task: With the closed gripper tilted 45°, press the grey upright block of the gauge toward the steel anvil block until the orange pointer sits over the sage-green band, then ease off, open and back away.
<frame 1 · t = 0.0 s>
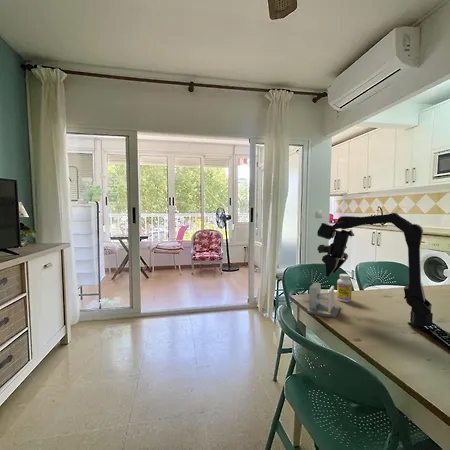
hand: (330, 274, 125), 15 cm above the table, tool pointing down, fingers open, 9 cm apart
supplement bottle: (344, 300, 135), on the table
anvil block: (315, 295, 123), on the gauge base, point 6 cm above the table
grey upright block: (323, 297, 120), point 6 cm above the table, slide at 0.0 cm
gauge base: (323, 310, 121), on the table
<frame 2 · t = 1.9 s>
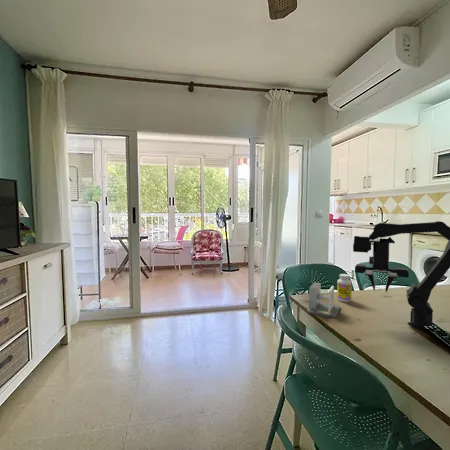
hand: (380, 291, 110), 12 cm above the table, tool pointing down, fingers open, 4 cm apart
nothing on the table moved.
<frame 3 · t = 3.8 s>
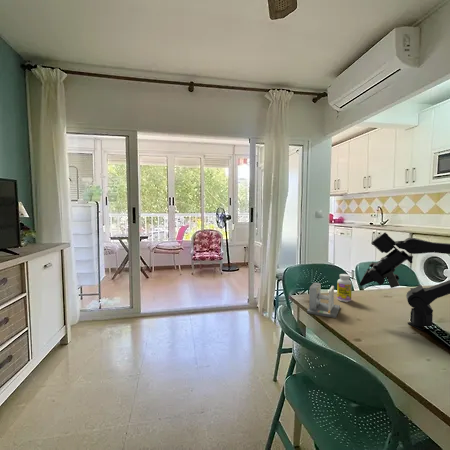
hand: (360, 285, 113), 14 cm above the table, tool tilted 45°, fingers closed
nothing on the table moved.
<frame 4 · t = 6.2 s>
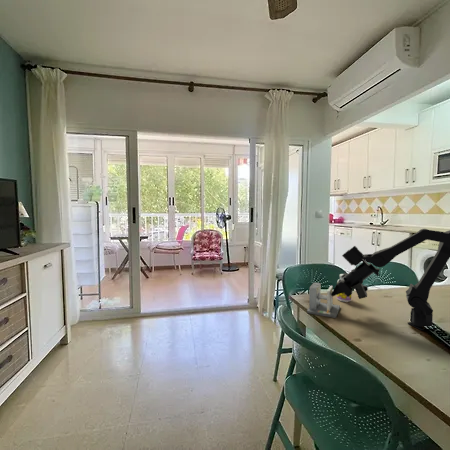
hand: (331, 295, 119), 7 cm above the table, tool tilted 45°, fingers closed, pressing on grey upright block
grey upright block: (321, 297, 120), point 6 cm above the table, slide at 0.5 cm, touching gripper
everything else where it was.
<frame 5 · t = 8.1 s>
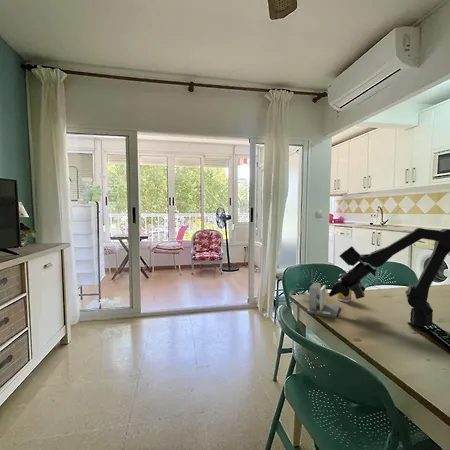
hand: (329, 295, 120), 7 cm above the table, tool tilted 45°, fingers closed
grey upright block: (314, 296, 122), point 6 cm above the table, slide at 3.6 cm
everything else where it was.
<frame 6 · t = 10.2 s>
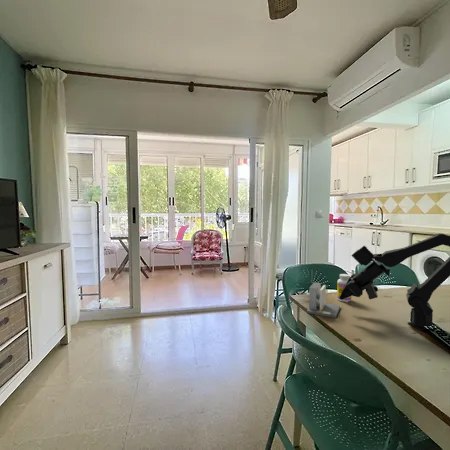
hand: (341, 295, 117), 8 cm above the table, tool tilted 45°, fingers open, 9 cm apart
nothing on the table moved.
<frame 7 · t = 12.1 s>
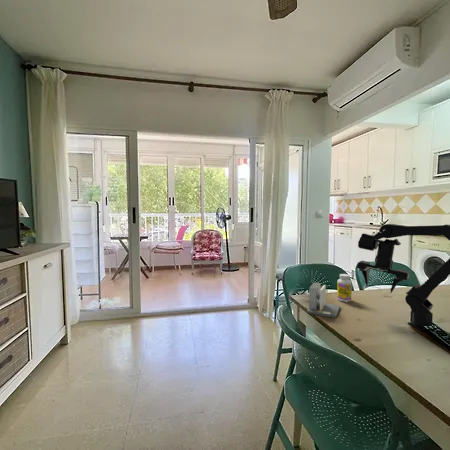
hand: (378, 289, 114), 12 cm above the table, tool pointing down, fingers open, 9 cm apart
nothing on the table moved.
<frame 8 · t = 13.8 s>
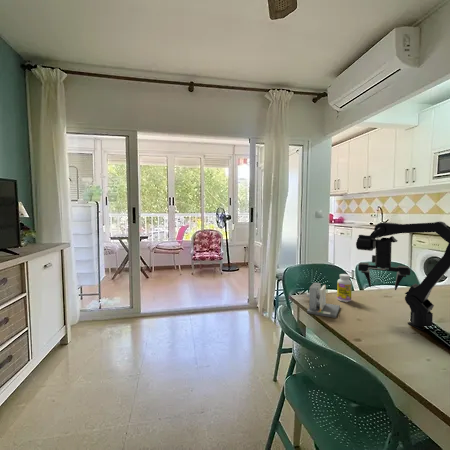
hand: (382, 288, 113), 12 cm above the table, tool pointing down, fingers open, 9 cm apart
nothing on the table moved.
at the end: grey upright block slide at 3.6 cm; supplement bottle moved 0.2 cm from its start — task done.
